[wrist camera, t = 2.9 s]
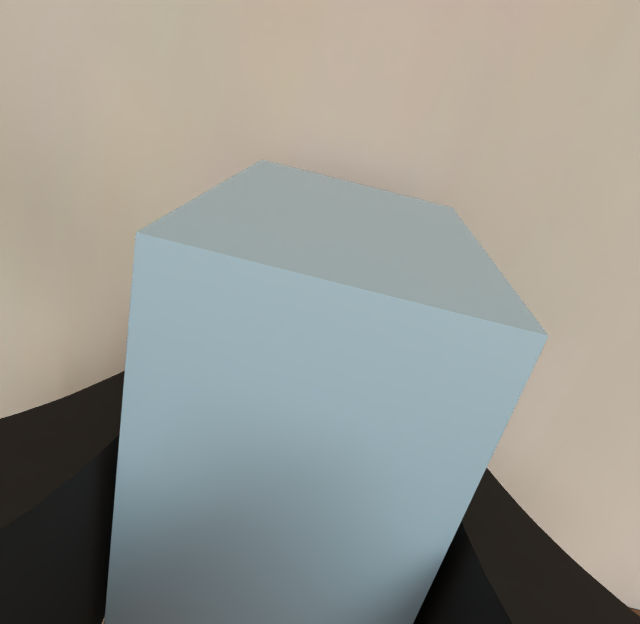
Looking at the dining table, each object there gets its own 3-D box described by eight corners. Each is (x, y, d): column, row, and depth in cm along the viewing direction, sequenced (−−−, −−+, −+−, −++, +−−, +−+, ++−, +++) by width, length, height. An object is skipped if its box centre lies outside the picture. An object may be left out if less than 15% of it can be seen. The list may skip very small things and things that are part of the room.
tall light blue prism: (203, 489, 14) (94, 746, 8) (262, 159, 10) (136, 231, 5) (344, 524, 14) (327, 804, 8) (452, 207, 10) (549, 336, 5)
